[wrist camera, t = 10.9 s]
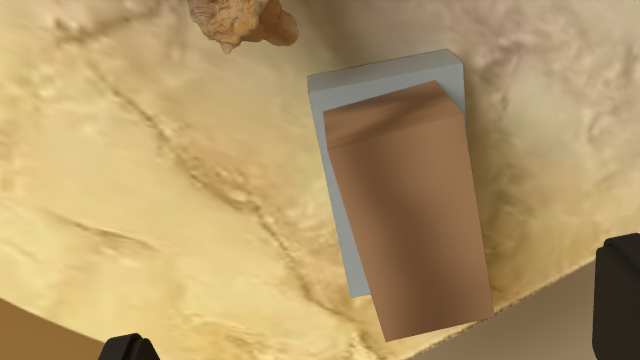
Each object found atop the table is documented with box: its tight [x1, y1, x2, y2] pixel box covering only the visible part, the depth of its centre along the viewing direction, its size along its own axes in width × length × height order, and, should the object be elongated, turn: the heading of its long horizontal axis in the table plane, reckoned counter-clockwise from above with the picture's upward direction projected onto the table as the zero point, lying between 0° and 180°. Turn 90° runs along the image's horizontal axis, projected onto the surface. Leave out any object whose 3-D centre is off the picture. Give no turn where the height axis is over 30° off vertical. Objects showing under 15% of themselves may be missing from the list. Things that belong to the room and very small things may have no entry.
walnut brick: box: [323, 80, 495, 342], centre depth 27 cm, size 6×12×5 cm, turn 16°
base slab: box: [307, 49, 467, 298], centre depth 30 cm, size 8×14×3 cm, turn 11°
